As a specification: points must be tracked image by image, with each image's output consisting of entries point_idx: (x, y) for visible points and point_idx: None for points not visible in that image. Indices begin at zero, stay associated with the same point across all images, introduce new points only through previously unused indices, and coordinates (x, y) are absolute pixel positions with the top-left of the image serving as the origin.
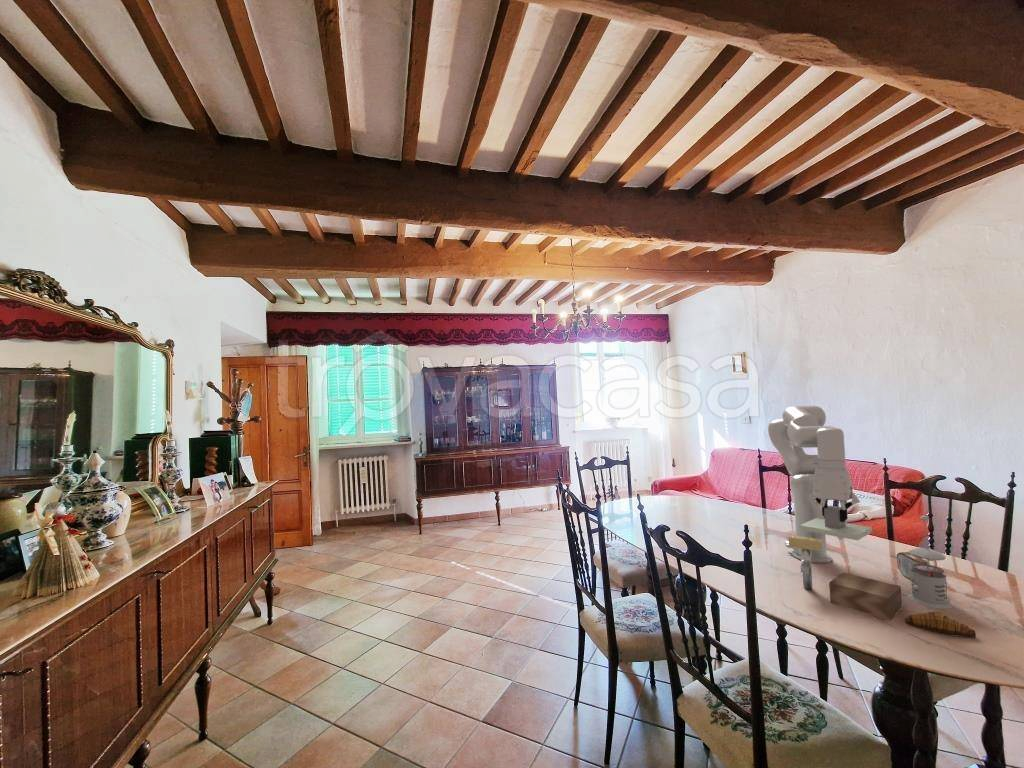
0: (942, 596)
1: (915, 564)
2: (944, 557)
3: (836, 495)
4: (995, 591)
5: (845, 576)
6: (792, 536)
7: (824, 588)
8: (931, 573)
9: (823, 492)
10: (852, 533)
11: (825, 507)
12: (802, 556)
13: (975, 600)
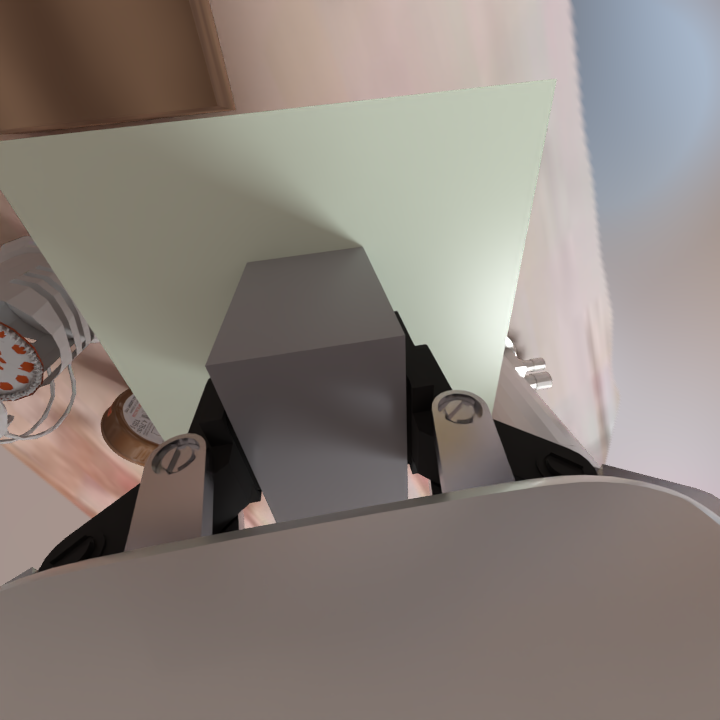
0: (49, 336)
1: (34, 365)
2: None
3: (106, 717)
4: (84, 479)
5: (160, 21)
6: None
7: (299, 67)
8: (105, 417)
9: (563, 701)
10: (71, 194)
11: (412, 398)
12: None
13: (40, 398)
